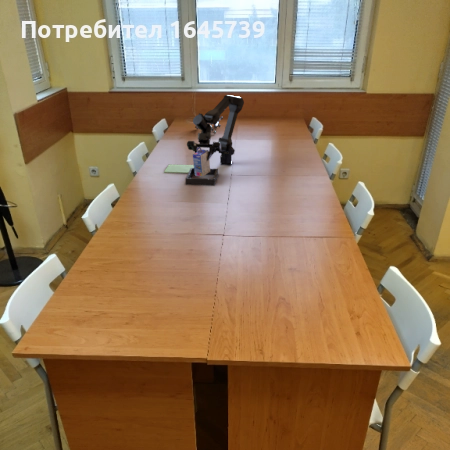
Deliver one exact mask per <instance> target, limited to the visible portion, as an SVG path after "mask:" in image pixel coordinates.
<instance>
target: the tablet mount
mask: <svg viewBox="0 0 450 450" xmlns="http://www.w3.org/2000/svg"><path fill="white" fill-rule="evenodd" d="M223 118H224V117H223V116H221V115H220V119H219V121H218V122H217V124H216V125H213V124H210V125H211V126H212V128H213V131H212V133H213V134H214V135H215V134H216V133H217V128H220V127H221V126H222V124H220V123H219V122H220V121H222V120H223ZM194 128H195V129H196V130H199V129H198V128H197V126H196V125H194Z"/></svg>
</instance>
